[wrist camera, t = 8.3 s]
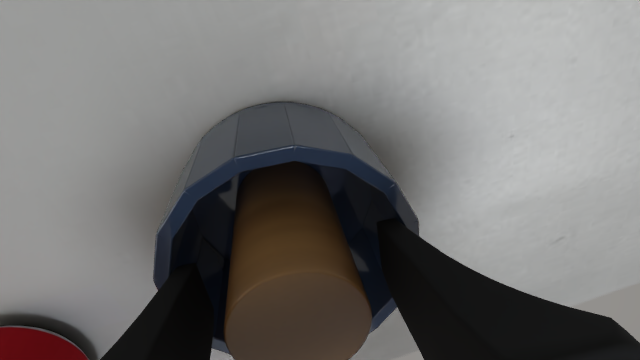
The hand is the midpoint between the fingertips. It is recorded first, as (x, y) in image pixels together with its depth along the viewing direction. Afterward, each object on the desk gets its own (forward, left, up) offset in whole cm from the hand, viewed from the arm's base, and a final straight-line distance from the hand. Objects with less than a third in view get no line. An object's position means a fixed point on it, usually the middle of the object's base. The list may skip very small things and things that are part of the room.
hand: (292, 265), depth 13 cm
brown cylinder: (0, 0, -4) cm, 4 cm away
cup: (0, 0, -5) cm, 5 cm away
